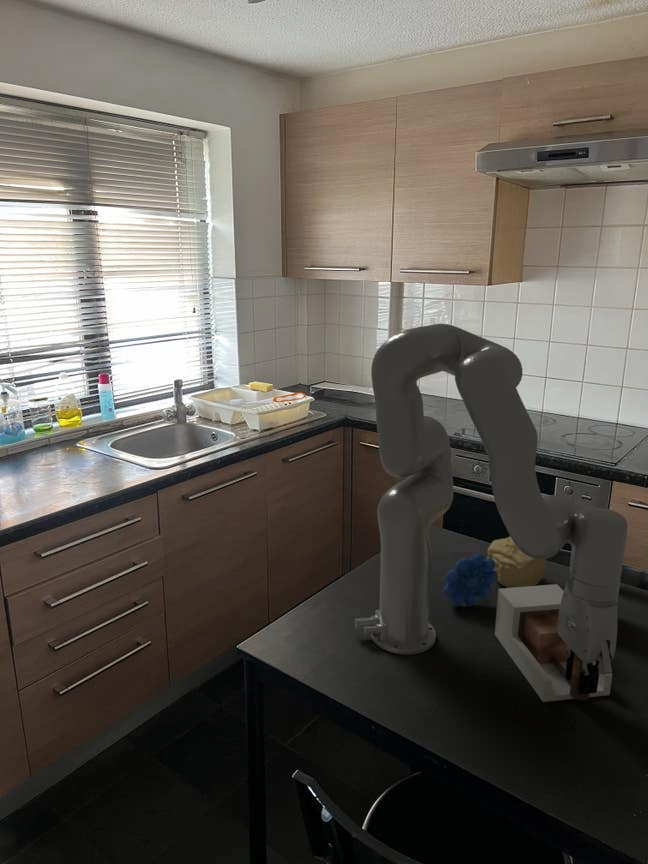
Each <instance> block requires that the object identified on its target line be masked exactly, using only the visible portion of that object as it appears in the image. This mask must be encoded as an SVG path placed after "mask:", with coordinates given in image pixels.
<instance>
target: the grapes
mask: <svg viewBox="0 0 648 864" xmlns="http://www.w3.org/2000/svg"><path fill="white" fill-rule="evenodd" d="M455 568H456V569H450V570H448V572H447V573H446V574H445V582H447V584H446V585H445V586H444V587H443V595H444V596H445V597H446V598H450V602H451V604H452V605H453V606H455V607H459V606H461V605H462V604H464V605H466V606H467V607H473V606H474V605H476V604H477V603H478V600H479V598H481V599H484V598H488V597H489V595H490V594H491V593H492V592H491V591H492V589H491V588H492V587H491V585H494V584H495V583H496V582H498V581H497V579H498V575H497V572H496V571H493V569H494V568H495V561H494V560H493V559H490V558H489V559H487V558H486V559H485V556H484V555H483V554H482V553H475V554H473V555H472V556H471V557H470V559H469V558H468V557H462V558H459V560H457V561H456V564H455Z"/></svg>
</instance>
